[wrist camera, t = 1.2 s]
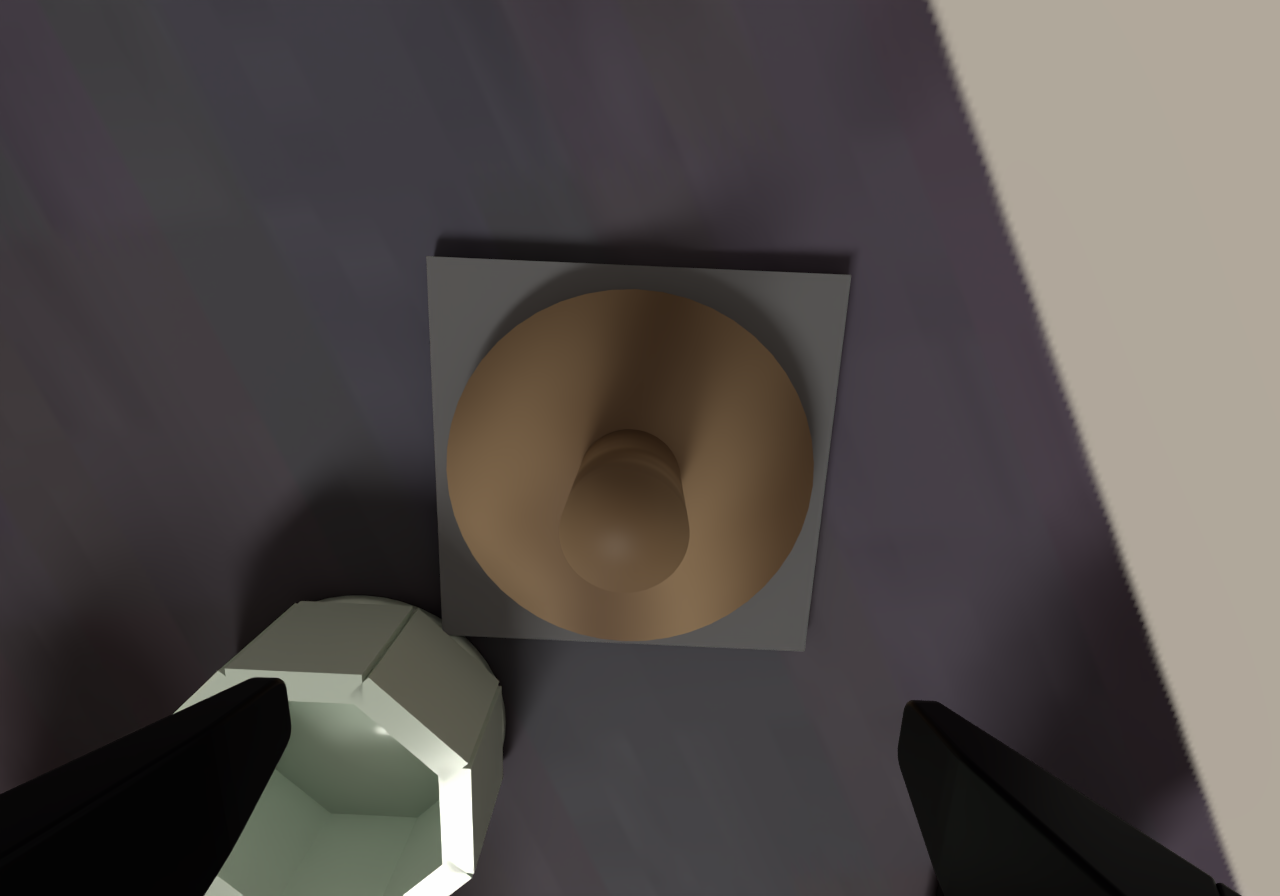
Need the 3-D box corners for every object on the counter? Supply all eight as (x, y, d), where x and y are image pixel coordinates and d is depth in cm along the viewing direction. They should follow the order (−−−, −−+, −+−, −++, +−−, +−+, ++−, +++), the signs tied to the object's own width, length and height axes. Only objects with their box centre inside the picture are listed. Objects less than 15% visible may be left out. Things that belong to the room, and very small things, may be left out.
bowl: (504, 601, 22) (467, 679, 18) (507, 829, 25) (476, 947, 20) (225, 588, 22) (118, 663, 18) (256, 817, 25) (170, 932, 20)
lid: (825, 297, 19) (896, 299, 13) (786, 632, 22) (832, 744, 16) (449, 281, 19) (371, 277, 13) (461, 618, 22) (401, 725, 16)
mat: (845, 275, 19) (851, 275, 19) (800, 642, 22) (804, 651, 22) (433, 257, 19) (426, 256, 19) (447, 626, 22) (442, 635, 22)
